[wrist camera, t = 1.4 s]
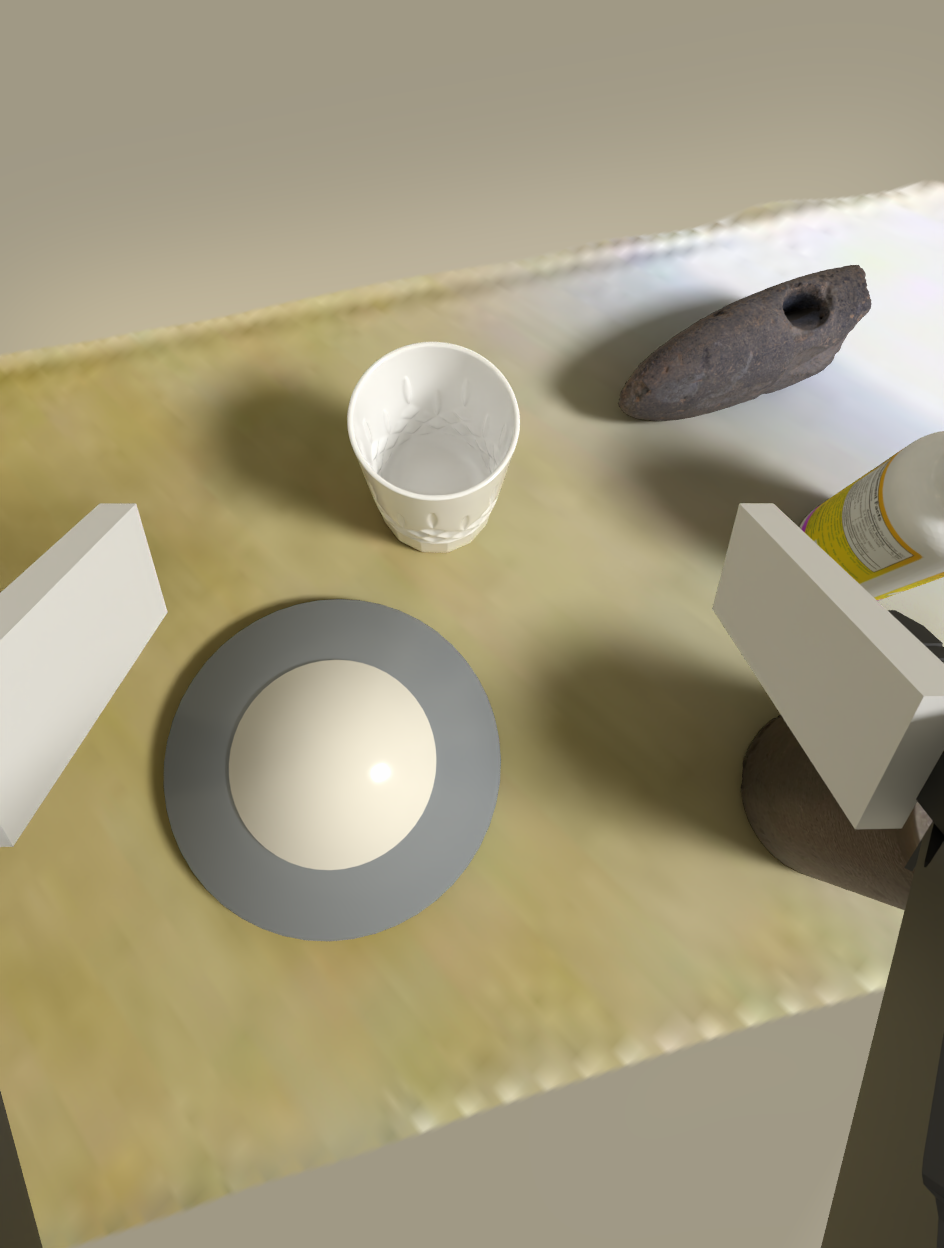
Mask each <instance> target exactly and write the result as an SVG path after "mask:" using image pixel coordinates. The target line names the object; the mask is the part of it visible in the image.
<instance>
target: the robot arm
mask: <svg viewBox="0 0 944 1248" xmlns="http://www.w3.org/2000/svg"><path fill="white" fill-rule="evenodd" d="M712 609H713V611H714V612H715V614H716V615H717V617H718V618H719V620H720V621H721V623H722V625H723V626H724V628H725V629H726V631H727V632H728V634H729V635H730V637H731V638H732V640H733V642H734V643H735V645H736V646H737V648H738V649H739V651H740V652H741V654H742V655H743V657H744V659H745V660H746V662H747V663H748V665H749V666H750V668H751V669H752V671H753V672H754V674H755V676H756V677H757V679H758V680H759V682H760V683H761V685H762V686H763V688H764V689H765V691H766V693H767V694H768V696H769V697H770V699H771V700H772V702H773V703H774V705H775V706H776V708H777V710H778V711H779V713H780V714H781V716H782V717H783V719H784V720H785V722H786V723H787V725H788V727H789V728H790V730H791V731H792V733H793V734H794V736H795V737H796V739H797V740H798V742H799V744H800V745H801V747H802V748H803V750H804V751H805V753H806V754H807V756H808V757H809V759H810V761H811V762H812V764H813V765H814V767H815V768H816V770H817V771H818V773H819V774H820V776H821V777H822V779H823V781H824V782H825V784H826V785H827V787H828V788H829V790H830V791H831V793H832V794H833V796H834V798H835V799H836V801H837V802H838V804H839V805H840V807H841V808H842V810H843V811H844V813H845V815H846V816H847V818H848V819H849V821H850V822H851V824H852V825H853V827H854V828H855V829H901V828H902V827H903V825H904V824H905V822H906V820H907V818H908V817H909V815H910V813H911V812H912V810H913V808H914V806H915V805H916V803H917V802H918V803H919V804H920V805H921V807H922V808H923V809H924V811H925V812H926V813H927V814H928V816H929V817H930V818H931V820H932V823H931V825H930V826H929V828H928V830H927V831H926V833H925V834H924V836H923V838H922V839H921V841H920V843H919V844H918V846H917V848H916V849H915V851H914V853H913V854H912V856H911V857H910V859H909V861H908V862H907V864H906V866H905V867H904V868H906V869H908V870H910V871H913V870H914V869H915V871H914V875H913V879H912V883H911V887H910V891H909V895H908V899H907V903H906V907H905V911H904V915H903V919H902V923H901V928H900V932H899V936H898V940H897V944H896V948H895V952H894V956H893V960H892V964H891V968H890V972H889V976H888V980H887V984H886V988H885V992H884V996H883V1000H882V1004H881V1008H880V1012H879V1016H878V1021H877V1024H876V1028H875V1032H874V1036H873V1040H872V1044H871V1048H870V1053H869V1057H868V1061H867V1064H866V1069H865V1073H864V1077H863V1081H862V1085H861V1089H860V1093H859V1097H858V1101H857V1105H856V1109H855V1113H854V1117H853V1121H852V1125H851V1129H850V1133H849V1137H848V1141H847V1145H846V1149H845V1153H844V1157H843V1161H842V1165H841V1169H840V1173H839V1177H838V1181H837V1186H836V1190H835V1194H834V1198H833V1201H832V1205H831V1210H830V1214H829V1218H828V1222H827V1226H826V1230H825V1234H824V1238H823V1242H822V1246H821V1248H944V647H943V646H942V644H943V643H942V642H941V641H939V640H938V639H937V638H936V637H935V636H934V635H933V634H932V633H931V632H929V631H928V630H927V629H926V628H925V627H924V626H923V625H921V624H919V623H917V622H915V621H914V620H912V619H910V618H908V617H906V616H904V615H903V614H901V613H899V612H897V611H895V610H886V609H885V608H884V607H883V606H882V605H881V604H880V603H879V602H878V601H877V600H876V599H875V598H874V597H873V596H872V595H870V594H869V593H868V592H867V591H866V590H865V589H864V588H863V587H862V586H861V585H860V584H859V583H858V582H857V581H856V580H854V579H853V578H852V577H851V576H850V575H849V574H848V573H847V572H846V571H845V570H844V569H843V568H842V567H841V566H840V565H838V564H837V563H836V562H835V561H834V560H833V559H832V558H831V557H830V556H829V555H828V554H827V553H826V552H825V551H824V550H823V549H821V548H820V547H819V546H818V545H817V544H816V543H815V542H814V541H813V540H812V539H811V538H810V537H809V536H808V535H807V534H805V533H804V532H803V531H802V530H801V529H800V528H799V527H798V526H797V525H796V524H795V523H794V522H793V521H792V520H791V519H790V518H788V517H787V516H786V515H785V514H784V513H783V512H782V511H781V510H780V509H779V508H778V507H777V506H776V505H775V504H774V503H739V507H738V511H737V515H736V519H735V523H734V526H733V530H732V534H731V538H730V542H729V546H728V550H727V553H726V557H725V561H724V565H723V569H722V573H721V577H720V581H719V584H718V588H717V592H716V596H715V600H714V604H713V608H712ZM166 614H167V609H166V605H165V602H164V599H163V595H162V592H161V588H160V585H159V581H158V578H157V574H156V571H155V567H154V564H153V560H152V557H151V554H150V550H149V547H148V543H147V540H146V536H145V533H144V529H143V526H142V522H141V519H140V515H139V512H138V508H137V505H136V504H99V505H97V506H96V507H95V508H94V509H93V510H92V511H91V512H90V513H89V514H87V515H86V516H85V517H84V518H83V519H82V520H81V521H80V522H79V523H77V524H76V525H75V526H74V527H73V528H72V529H71V530H70V531H69V532H67V533H66V534H65V535H64V536H63V537H62V538H61V539H60V540H59V541H57V542H56V543H55V544H54V545H53V546H52V547H51V548H50V549H49V550H47V551H46V552H45V553H44V554H43V555H42V556H41V557H40V558H39V559H37V560H36V561H35V562H34V563H33V564H32V565H31V566H30V567H29V568H27V569H26V570H25V571H24V572H23V573H22V574H21V575H20V576H19V577H17V578H16V579H15V580H14V581H13V582H12V583H11V584H10V585H9V586H7V587H6V588H5V589H4V590H3V591H2V592H1V593H0V847H13V846H14V844H15V843H16V841H17V840H18V838H19V837H20V835H21V834H22V832H23V831H24V829H25V828H26V826H27V825H28V823H29V822H30V820H31V819H32V817H33V815H34V814H35V812H36V811H37V809H38V808H39V806H40V805H41V803H42V802H43V800H44V799H45V797H46V796H47V794H48V793H49V791H50V790H51V788H52V787H53V785H54V784H55V782H56V781H57V779H58V778H59V776H60V775H61V773H62V772H63V770H64V768H65V767H66V765H67V764H68V762H69V761H70V759H71V758H72V756H73V755H74V753H75V752H76V750H77V749H78V747H79V746H80V744H81V743H82V741H83V740H84V738H85V737H86V735H87V734H88V732H89V731H90V729H91V728H92V726H93V725H94V723H95V721H96V720H97V718H98V717H99V715H100V714H101V712H102V711H103V709H104V708H105V706H106V705H107V703H108V702H109V700H110V699H111V697H112V696H113V694H114V693H115V691H116V690H117V688H118V687H119V685H120V684H121V682H122V681H123V679H124V678H125V676H126V674H127V673H128V671H129V670H130V668H131V667H132V665H133V664H134V662H135V661H136V659H137V658H138V656H139V655H140V653H141V652H142V650H143V649H144V647H145V646H146V644H147V643H148V641H149V640H150V638H151V637H152V635H153V634H154V632H155V631H156V629H157V627H158V626H159V624H160V623H161V621H162V620H163V618H164V617H165V615H166ZM0 1248H42V1244H41V1240H40V1237H39V1233H38V1229H37V1225H36V1222H35V1218H34V1214H33V1211H32V1207H31V1203H30V1199H29V1196H28V1192H27V1188H26V1185H25V1181H24V1177H23V1173H22V1170H21V1166H20V1162H19V1159H18V1155H17V1151H16V1147H15V1144H14V1140H13V1136H12V1133H11V1129H10V1125H9V1121H8V1118H7V1114H6V1110H5V1107H4V1103H3V1099H2V1095H1V1092H0Z"/></svg>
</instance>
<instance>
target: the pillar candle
mask: <svg viewBox="0 0 944 1248" xmlns="http://www.w3.org/2000/svg"><path fill="white" fill-rule="evenodd" d="M742 777H743V780H742V785H741V792H742V798H743V804H744V808H745V812H746V815H747V817H748V820H749V822H750V824H751V826H752V828H753V830H754V832H755V833H756V835H757V837H758V838H759V840H760V841H761V843H762V844H763V845H764V846H765V847H766V848H767V849H768V851H769V852H770V853H771V854H772V855H773V856H774V857H776V858H777V859H778V860H780V861H781V862H782V863H783V864H785V865H786V866H788V867H791V868H792V869H794V870H796V871H798V872H800V873H802V874H805V875H807V876H810V877H812V878H815V879H818V880H821V881H825V882H827V883H830V884H833V885H835V886H838V887H841V888H844V889H846V890H849V891H852V892H855V893H858V894H861V895H863V896H866V897H869V898H872V899H875V900H878V901H880V902H883V903H886V904H889V905H891V906H894V907H897V908H900V909H903V910H905V907H906V903H907V899H908V895H909V891H910V887H911V883H912V879H913V875H914V871H915V869H914V870H913V871H910V870H908V869H906V868H904V867H905V866H906V864H907V862H908V861H909V859H910V857H911V856H912V854H913V853H914V851H915V849H916V848H917V846H918V844H919V843H920V841H921V839H922V838H923V836H924V834H925V833H926V831H927V830H928V828H929V826H930V825H931V823H932V820H931V818H930V817H929V816H928V814H927V813H926V812H925V811H924V809H923V808H922V807H921V805H920V804H919V803H918V802H917V803H916V805H915V806H914V808H913V810H912V812H911V813H910V815H909V817H908V818H907V820H906V822H905V824H904V825H903V827H902V828H901V829H855V828H854V827H853V825H852V824H851V822H850V821H849V819H848V818H847V816H846V815H845V813H844V811H843V810H842V808H841V807H840V805H839V804H838V802H837V801H836V799H835V798H834V796H833V794H832V793H831V791H830V790H829V788H828V787H827V785H826V784H825V782H824V781H823V779H822V777H821V776H820V774H819V773H818V771H817V770H816V768H815V767H814V765H813V764H812V762H811V761H810V759H809V757H808V756H807V754H806V753H805V751H804V750H803V748H802V747H801V745H800V744H799V742H798V740H797V739H796V737H795V736H794V734H793V733H792V731H791V730H790V728H789V727H788V725H787V723H786V722H785V720H784V719H783V717H782V716H781V715H779V716H778V718H774V719H772V720H771V721H770V722H768V723H767V724H766V725H765V726H764V727H763V728H762V729H761V730H760V731H759V733H758V734H757V736H756V737H755V739H754V740H753V742H752V743H751V745H750V746H749V748H748V751H747V753H746V756H745V757H744V761H743V774H742Z"/></svg>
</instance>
